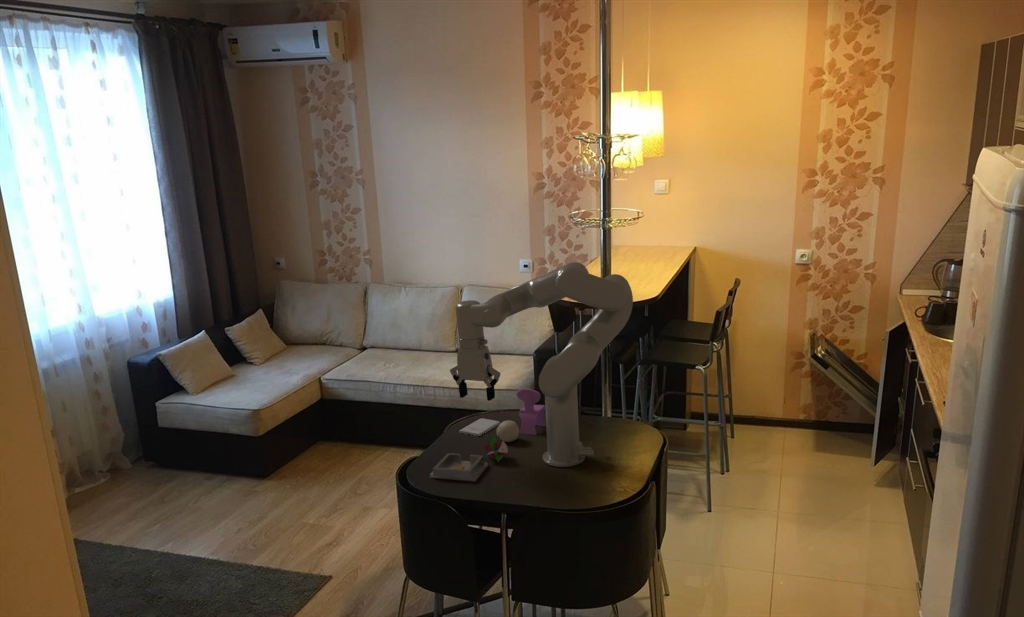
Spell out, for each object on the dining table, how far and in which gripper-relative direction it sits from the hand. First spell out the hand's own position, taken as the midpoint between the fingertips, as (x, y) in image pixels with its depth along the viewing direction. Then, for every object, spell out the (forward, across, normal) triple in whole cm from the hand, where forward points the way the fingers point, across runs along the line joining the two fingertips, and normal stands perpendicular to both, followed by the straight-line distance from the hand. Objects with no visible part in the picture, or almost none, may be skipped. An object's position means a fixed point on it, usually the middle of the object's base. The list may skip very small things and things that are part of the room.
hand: (477, 397), depth 234 cm
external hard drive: (+20, +14, -20) cm, 31 cm away
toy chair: (+20, -3, -26) cm, 33 cm away
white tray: (+19, +1, +12) cm, 22 cm away
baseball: (+19, 0, -14) cm, 24 cm away
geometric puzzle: (+19, -5, 0) cm, 20 cm away
